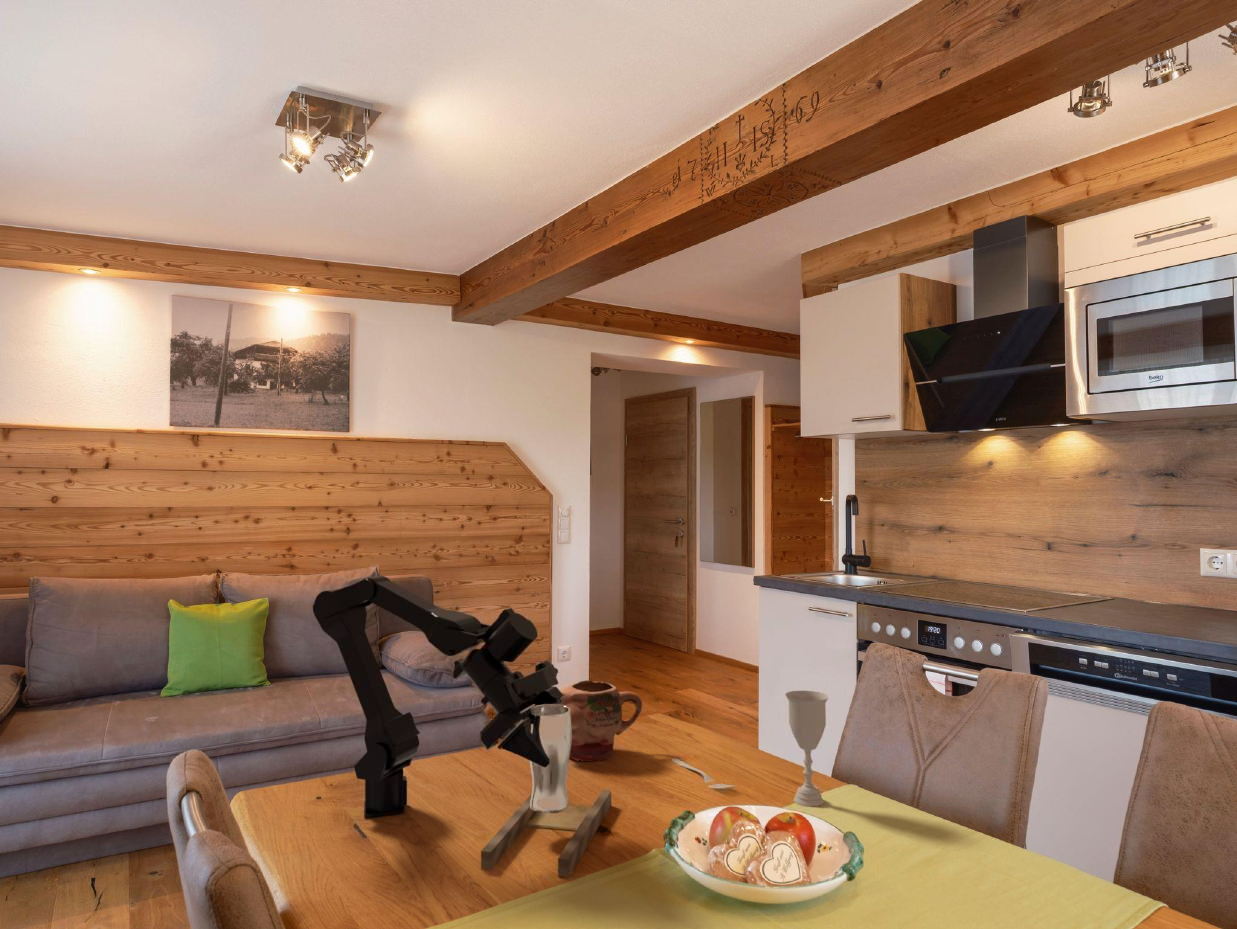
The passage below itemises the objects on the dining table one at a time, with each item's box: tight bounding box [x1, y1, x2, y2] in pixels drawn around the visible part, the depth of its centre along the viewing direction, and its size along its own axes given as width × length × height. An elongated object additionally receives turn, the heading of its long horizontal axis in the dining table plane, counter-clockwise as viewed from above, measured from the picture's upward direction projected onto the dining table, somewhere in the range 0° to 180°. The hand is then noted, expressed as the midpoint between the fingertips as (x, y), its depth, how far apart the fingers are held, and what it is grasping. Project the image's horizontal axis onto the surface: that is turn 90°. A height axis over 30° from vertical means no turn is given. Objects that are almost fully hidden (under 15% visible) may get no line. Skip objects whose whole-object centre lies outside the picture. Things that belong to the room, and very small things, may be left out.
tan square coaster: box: [526, 804, 593, 832], centre depth 132 cm, size 9×10×1 cm
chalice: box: [785, 690, 829, 807], centre depth 138 cm, size 7×7×18 cm
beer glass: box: [528, 704, 572, 814], centre depth 125 cm, size 7×7×15 cm
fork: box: [671, 757, 737, 790], centre depth 152 cm, size 3×24×2 cm, turn 25°
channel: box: [480, 789, 612, 878], centre depth 125 cm, size 26×13×2 cm, turn 167°
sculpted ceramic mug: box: [558, 680, 643, 762], centre depth 164 cm, size 20×12×14 cm, turn 113°
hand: (557, 758), depth 124 cm, fingers closed on beer glass, 7 cm apart
